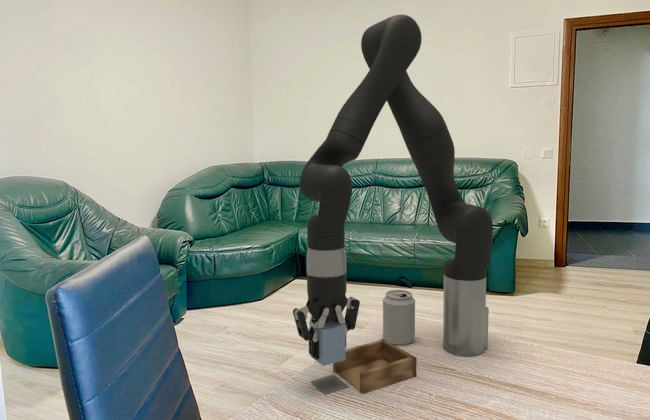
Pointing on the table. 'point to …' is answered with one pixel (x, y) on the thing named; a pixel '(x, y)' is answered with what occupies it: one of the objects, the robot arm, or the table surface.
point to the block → (331, 343)
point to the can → (399, 317)
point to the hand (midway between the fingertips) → (327, 354)
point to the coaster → (329, 384)
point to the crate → (375, 366)
